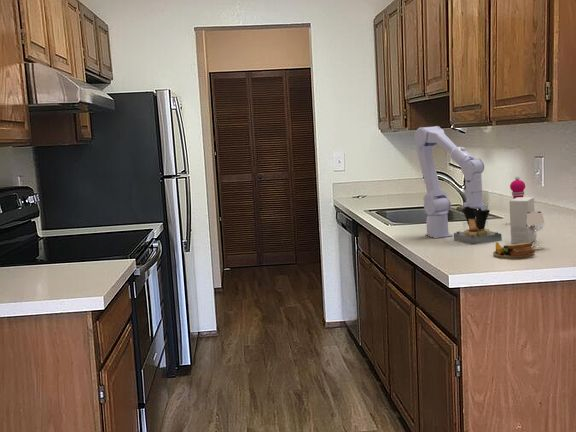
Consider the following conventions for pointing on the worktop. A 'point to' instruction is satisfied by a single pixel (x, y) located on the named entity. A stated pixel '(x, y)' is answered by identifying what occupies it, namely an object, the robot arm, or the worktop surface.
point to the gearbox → (477, 236)
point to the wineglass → (534, 224)
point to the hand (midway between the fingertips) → (476, 227)
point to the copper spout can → (473, 225)
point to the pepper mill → (517, 188)
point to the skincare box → (521, 220)
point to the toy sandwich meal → (514, 251)
